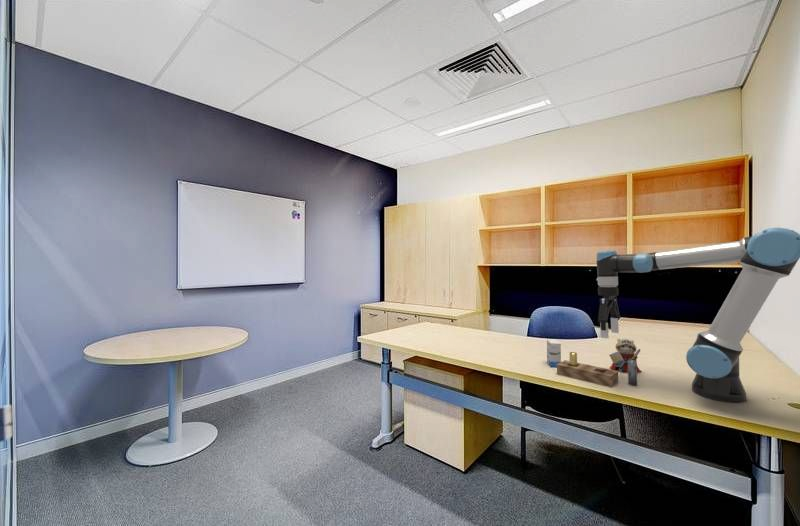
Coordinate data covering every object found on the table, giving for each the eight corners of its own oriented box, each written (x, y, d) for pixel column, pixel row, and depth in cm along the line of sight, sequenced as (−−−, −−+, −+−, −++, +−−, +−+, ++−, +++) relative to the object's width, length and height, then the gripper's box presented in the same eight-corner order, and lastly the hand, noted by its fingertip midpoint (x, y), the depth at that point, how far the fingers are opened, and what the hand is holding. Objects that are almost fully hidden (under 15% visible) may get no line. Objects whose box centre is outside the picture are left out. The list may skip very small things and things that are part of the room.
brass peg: (578, 374, 152) (578, 352, 152) (575, 376, 150) (575, 354, 150) (571, 373, 154) (571, 351, 154) (568, 374, 152) (568, 352, 152)
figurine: (606, 371, 156) (606, 339, 156) (611, 365, 164) (611, 334, 164) (640, 377, 147) (640, 343, 147) (644, 370, 155) (643, 338, 155)
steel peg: (637, 384, 139) (637, 360, 139) (635, 386, 137) (635, 362, 137) (629, 382, 141) (629, 359, 141) (627, 384, 139) (626, 360, 139)
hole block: (618, 381, 143) (618, 371, 142) (611, 387, 137) (611, 376, 137) (565, 369, 159) (565, 360, 159) (557, 374, 153) (556, 364, 153)
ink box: (561, 367, 162) (561, 343, 162) (550, 367, 163) (550, 343, 163) (557, 362, 170) (556, 339, 170) (546, 361, 171) (546, 339, 171)
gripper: (607, 284, 155) (609, 329, 155) (587, 288, 139) (589, 338, 139) (626, 284, 150) (628, 331, 150) (608, 288, 133) (610, 341, 133)
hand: (609, 335), depth 144 cm, fingers open, 13 cm apart
